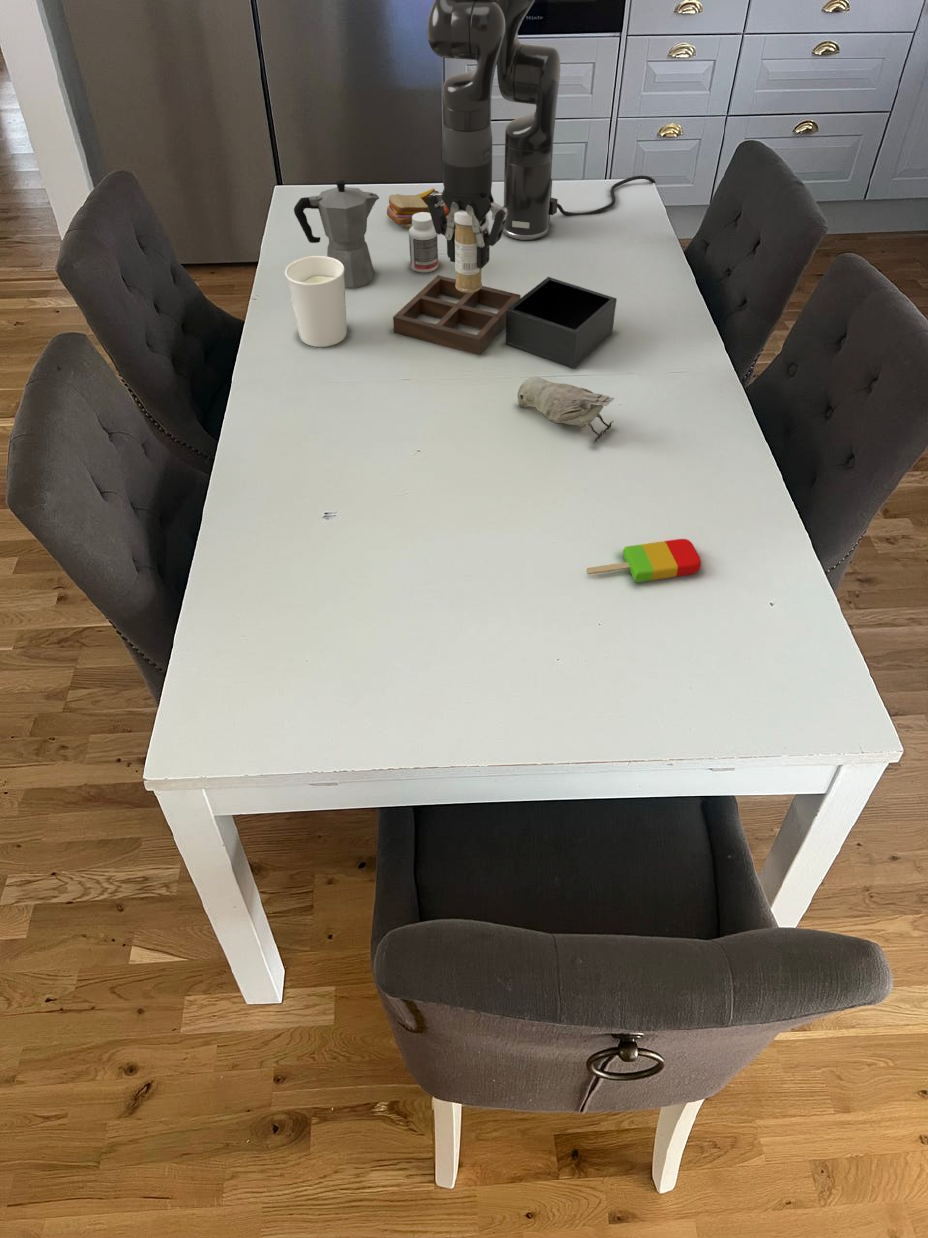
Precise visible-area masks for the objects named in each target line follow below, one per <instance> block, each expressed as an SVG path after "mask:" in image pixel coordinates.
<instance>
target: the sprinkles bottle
mask: <svg viewBox="0 0 928 1238" xmlns="http://www.w3.org/2000/svg"><path fill="white" fill-rule="evenodd" d="M454 221H455V263H454V266H455V267H454V268H455V279H456V284H455V287H456V289H457V290H459V291H461V292H464V293H473V292H476V291H478V290H480V289H481V288H482V286H483V282H482V269H480V268H477V246H478V243H477V239H476V235H475V234H474V233H473V231H472V227H471V225H472V217H471V216H469V215H468V214H467V211H465V210H460V209H459V210H458V211H457V212H456V213H454ZM473 221H474V220H473ZM481 223H482V221H480V222H479V225H481Z"/></svg>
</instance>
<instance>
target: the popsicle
mask: <svg viewBox="0 0 928 1238" xmlns="http://www.w3.org/2000/svg"><path fill="white" fill-rule="evenodd" d="M622 557H623V558H624V562H617V563H612V564H611V563H610V564H604V565H597V566H591V567H587V568H586V574H587V575H594V574H596V575H597V574H602V573H607V572H608V573H609V572H616V571H621V570H629V572H630V574H631V577H632V578H633V581H634V583H642V582H651V581H656V580H657V581H658V580H664V579H671V578H675V577H683V576H691V575H694V574H697V573H698V572H699V571H700V569H701V565H702V560H701V557H700V555H699V553H698V552H697V549H696V548H695V546H694V544H693V542H692V541H691V540H689V539H687V538H677V539H669V540H663V541H655V542H648V543H642V544H636V545H629V546H625V547H624V548H623V550H622Z"/></svg>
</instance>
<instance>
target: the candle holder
mask: <svg viewBox="0 0 928 1238" xmlns="http://www.w3.org/2000/svg"><path fill="white" fill-rule="evenodd" d="M284 275H285V278H286V283H287V287H288V293H289V296H290V302H291V305H292V310H293V313H294V314H293V315H294V319H295V324H296V328H297V331H298V332H297V333H298V335H299V338H300V340H301V341H302V343H304V344H306V345H308V346H311V347H314V348H315V347H316V348H326V347H331V346H334V345H337V344H339V343H340V342H342V341H344V339H345V338H346V336H347V335H348V334H347V331H348V326H347V307H346V306H347V303H346V302H347V301H346V288H345V280H344V266H343V264H342V263H341V262H340V261H338V260H337V259H334V258H331V257H327V255H309V256H305V257H301V258H298V259H296V260H294V261H292V262H291V263H289V264H287V266H286V268H285V270H284Z"/></svg>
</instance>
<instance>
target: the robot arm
mask: <svg viewBox="0 0 928 1238" xmlns="http://www.w3.org/2000/svg"><path fill="white" fill-rule="evenodd" d="M535 2H536V0H434V2H433V4H432V6H431V8H430V11H429V15H428V18H427V24H426V35H427V41H428V44H429V47H430V48H431V50H432V52H433V53H434V54H435V55H436V56H438V57H440V58H443V59H454V60H455V59H457V60H469V61H476V68H475V69H473V70H471V71H467V72H461V73H457V74H454V75H451V76H449V77H447V79H445V81H444V82H443V86H442V122H443V123H442V134H441V135H442V137H441V153H442V155H441V156H442V184H443V190H442V191H441V192H440V191H438V190H435V191H434V192H433V193H432V194H430V195H429V196H428V197H427V199H426V201H427V204H428V208H429V211H430V214H431V218H432V221H433V225H434V228H435V232H436V233H437V235H443V236H444V237H445V239H446V255H447V258H448V259H449V262H450V263H454V264H455V221H454V213H456V212H457V211H458V210H459V209H460V210H465V211H467V214H468V215H469V216H471V217H472V225H471V227H472V231H473V233H474V234H475V235H476V239H477V243H478V246H477V268H480V269H481V270H482V269H484V267H485V266H486V265H487V264H488V263H489V262H490V254H491V253H490V252H491V251H490V248H491V247H494V246H495V245H496V244H497V243H498V242H499V241H500V240H501V238H502V237H503V236H502V235H503V234H504V235H505V236H507V237H509V238H511V239H515V240H519V241H532V240H538V239H542V238H543V237H545V236H547V234H548V233H549V228H550V223H551V216H554V215H556V214H557V213H558V210H559V212H560V213H561V214H562V215H564V216H567V217H571V216H572V217H574V216H589V215H596V214H600V213H602V212H605V211H608V210H609V209H610V208H612V207H613V206H614V205H615V203H616V196H615V195H616V194H615V189H616V188H617V187H620V186H623V185H624V184H627V183H629V182H632V181H637V180H646V181H649V182H650V183H652V184H656V183H657V182H656V180H655V179H654V178H652V177H651V176H649V175H634V176H631V177H627V178H625V179H622V180H620V181H618V182H615V183H614V184H613V185H612V186H611V188H610V197H611V202H610V203H609V204H607V205H605V206H603V207H600V208H597V209H594V210H590V211H586V212H585V211H584V212H570V211H566V210H565V209H564V208H563V207H562V205H561V204H560V203H559V202H558V200H559V199H558V198H556V197H552V193H553V192H552V190H553V179H552V171H553V170H552V168H553V152H554V137H555V129H556V127H555V126H556V120H557V119H556V117H557V106H558V97H559V96H558V95H559V87H560V78H561V57H560V53H559V51H558V49H557V48H555V47H552V46H547V45H546V46H545V45H536V44H528V43H521V42H520V40H519V33H518V32H519V30H520V27H521V25H522V23H523V21H524V19H525V17H526V16H527V14H528V12H529V11H530V9H531V8H532V6H533V5H534V3H535ZM495 73H496V74H497V75H496V76H497V84H498V89H499V92H500V95H501V97H502V98H503V99H504V100H506V101H507V102H511V103H518V104H526V105H527V104H528V105H535V111H534V112H533V113H530V114H527V115H524V116H521V117H517V118H515V119H513V120H511V121H510V122H509V123H508V124H507V125H506V127H505V131H504V132H505V133H504V170H503V171H504V172H503V173H504V175H503V206H502V205H500V204H498V203H496V202H495V199H494V197H493V194H492V186H493V130H492V93H493V84H494V77H495ZM444 203H445V205H446V206H447V208H448V210H449V212H450V214H449V218H448V220H447V217H446V214H445V210H444V207H443V205H444ZM490 212H491V219H492V220H493V223H492V227H491V229H489V226H490V222H489V218H488V213H490ZM473 220H474V221H473ZM480 221H482V223H481V225H479V222H480Z"/></svg>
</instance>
